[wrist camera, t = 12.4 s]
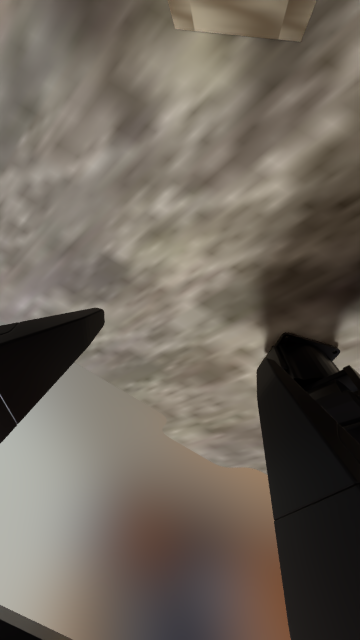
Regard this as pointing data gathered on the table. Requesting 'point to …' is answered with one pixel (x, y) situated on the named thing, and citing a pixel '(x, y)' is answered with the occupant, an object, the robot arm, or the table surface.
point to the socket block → (244, 17)
